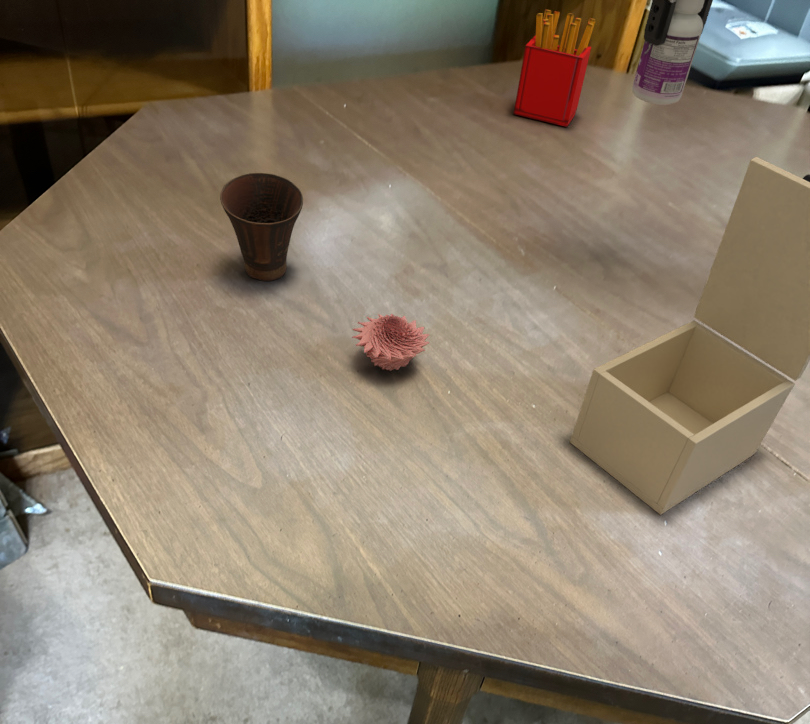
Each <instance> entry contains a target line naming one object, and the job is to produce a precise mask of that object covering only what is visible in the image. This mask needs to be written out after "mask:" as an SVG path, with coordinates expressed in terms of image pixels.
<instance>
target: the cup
mask: <svg viewBox="0 0 810 724" xmlns="http://www.w3.org/2000/svg"><path fill="white" fill-rule="evenodd" d="M219 194H220V195H219V200H220V204H221V206H222V208H223V211H224V213H225V214H226V216H227V217H228V219H229V221H230V223H231V225H232V228H233V230H234V234H235V236H236V240H237V242H238V246H239V250H240V253H241V257H242V260H243V267H244V270H245V272H246V273H247V275H248V276H250V277H251V278H252V279H257V280H258V281H261V282H270V281H275V280H279V279H281V278H282V277H283V276H284V275H285V273H286V271H287V258H288V252H289V247H290V242H291V237H292V233H293V230H294V227H295V224H296V222H297V220H298V218H299V216H300V214H301V211H302V209H303V204H304V197H303V193H302V191H301V189H300V188H299V187H298V185H296V184H295V183H294V182H293V181H292V180H290V179H288V178H286V177H284V176H280V175H277V174H273V173H267V172H250V173H246V174H245V173H244V174H241V175H238V176H236V177H234V178H232V179H230V180H229V181H227V182H226V183H225V184H224V185H223V187H222V188H221V190H220V193H219Z"/></svg>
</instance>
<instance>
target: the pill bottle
mask: <svg viewBox="0 0 810 724" xmlns="http://www.w3.org/2000/svg"><path fill="white" fill-rule="evenodd" d="M704 1H705V0H675V2H676V6H675V9H674V13H673V16H672V19H671V23H670V26H669V30H668V33H667V37H666V40H665V43H664V44H662V45H658V46H655V45H653V44H651V43H648V42H646V41H645V40H644V42H643V46H642V49H641V53H640V56H639V61H638V64H637V67H636V70H635V71H636V72H635V75H634V79H633V83H632V88H631V90H632V94H633V95H634V97H635V98H637V99H638V100H641V101H642V102H645V103H647V104H648V103H649V104H651V105H652V104H653V105H658V106H668V105H673V104H676V103H678V102H679V101H680V100H681V99H682V96H683V93H684V90H685V86H686V83H687V80H688V77H689V74H690V70H691V67H692V64H693V60H694V58H695V55H696V51H697V48H698V45H699V42H700V40H701V36H702V34H703V32H702V30H703V31H704V29H703V22H702V19H701V17H700V16H699V15H698V13H699V12H700V11H701V9H702V8H703V4H704ZM701 33H702V34H701Z"/></svg>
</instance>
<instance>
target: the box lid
mask: <svg viewBox="0 0 810 724" xmlns="http://www.w3.org/2000/svg"><path fill="white" fill-rule="evenodd" d="M744 174H745V175H744V177H743V179H742V182H741V184H740V185H741V186H740V189H739V190H738V193H737V197H736V199H735V202H734V206H733V208H732V211H731V213H730V215H729V217H728V218H729V219H728V221H727V224H726V227H725V230H724V233H723V235H722V238H721V241H720V244H719V246H718V249H717V252H716V254H715V258H714V260H713V262H712V265H711V268H710V271H709V274H708V276H707V280H706V283H705V285H704V288H703V290H702V293H701V296H700V298H699V302H698V304H697V307H696V310H695V313H694V315H693V318H694V319H696V320H697V321H698V322H699V323H701V324H703V325H704V326H707V328H708V327H709V328H710V329H712V331H715V333H718V334H720V335H721V336H723V338H726V339H728V340H729V341H731V343H734V344H736V345H737V346H739V347H740V348H741V349H742V348H743V349H744V350H745V351H746V352H748V353H750V354H752V356H755V357H756V358H758V359H759V360H761V361H763V363H765V364H766V365H769V366H771V367H772V368H774V370H775V369H776V370H777V371H779V372H780V373H781V374H783V375H785V376H786V377H788V378H790V379H791V380H793V381H794V382H796V381H798V380H799V379H800V378H802V376H803V374H804V372H805V370H806V368H807V366H808V365H809V363H810V174H809V173H808V174H805V175H804V176H803V177H800V176H798V175H795V174H794V173H791V172H789V171H787V170H785V169H783V168H781V167H779V166H777V165H775V164H772V163H771V162H768V161H766V160H764V159H762V158H760V157H758V156H756V157H753V158H751V159H750V160H749V164H748V166H747V169H746V171H745V173H744Z"/></svg>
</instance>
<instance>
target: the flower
mask: <svg viewBox="0 0 810 724" xmlns="http://www.w3.org/2000/svg"><path fill="white" fill-rule="evenodd" d="M377 316H378V317H377V318H373V317H369V316H366V319H367V320H368V321H363V322H361V321H357V324H358V325H361V326H362V327H356V328H352V329H351V330H353V332H357V333H359V334H356V335H353V336H351V339H356V340H359V342H357V343H356V344H355V347H363V349H364V351H363V352H364V354H365V353H366V357H368V358H370V362H372V363H373V366H374V367H379V368H381V370H382V371H384V370H386V371H390V372H392V371H393V370H396V371H398V370H400V368H402V367H404V368H405V367H407V365H409V363H410V361H412V360H413V358H416V357H417V355H418V354H420V353H422V352H425V351H426V350H425V349H424V348H423V347H425V346H427V345H429V344H430V341H426V340H427V338H428V337H430V333H423V332H424V330H425V326H419V327H417V320H416V319H415V320H414V319H413V320H412V321H411V322H408V320H407V318H406V316H405V315H403V316H402V317H400V316H398V315H394V313H390V315H388V314H385V316H384V315H382V314H380V313H377Z"/></svg>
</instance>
